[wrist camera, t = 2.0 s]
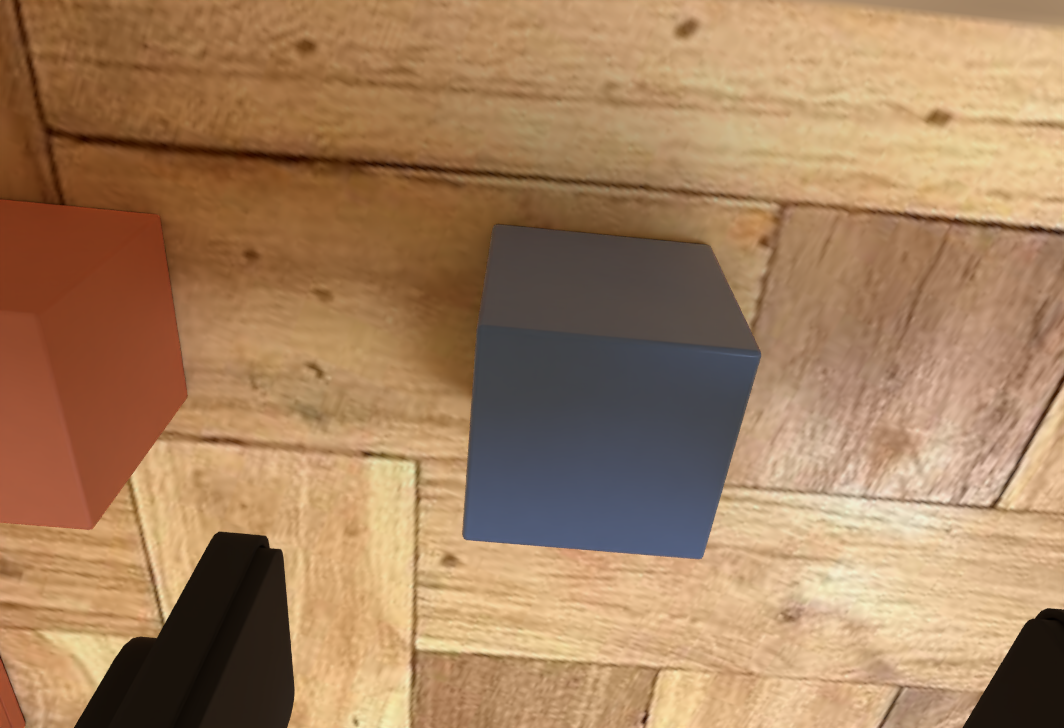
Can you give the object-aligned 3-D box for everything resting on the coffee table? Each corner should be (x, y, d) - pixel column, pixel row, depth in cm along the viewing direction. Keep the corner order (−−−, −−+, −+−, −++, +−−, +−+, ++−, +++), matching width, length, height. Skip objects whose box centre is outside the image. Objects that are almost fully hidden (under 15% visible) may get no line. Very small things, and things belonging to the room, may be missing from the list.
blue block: (492, 222, 15) (476, 326, 12) (711, 243, 16) (763, 353, 12) (479, 405, 18) (461, 541, 14) (670, 422, 18) (703, 561, 14)
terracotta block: (-66, 191, 15) (-266, 286, 12) (160, 213, 16) (37, 314, 12) (-8, 379, 18) (-159, 511, 14) (189, 396, 18) (93, 532, 14)
